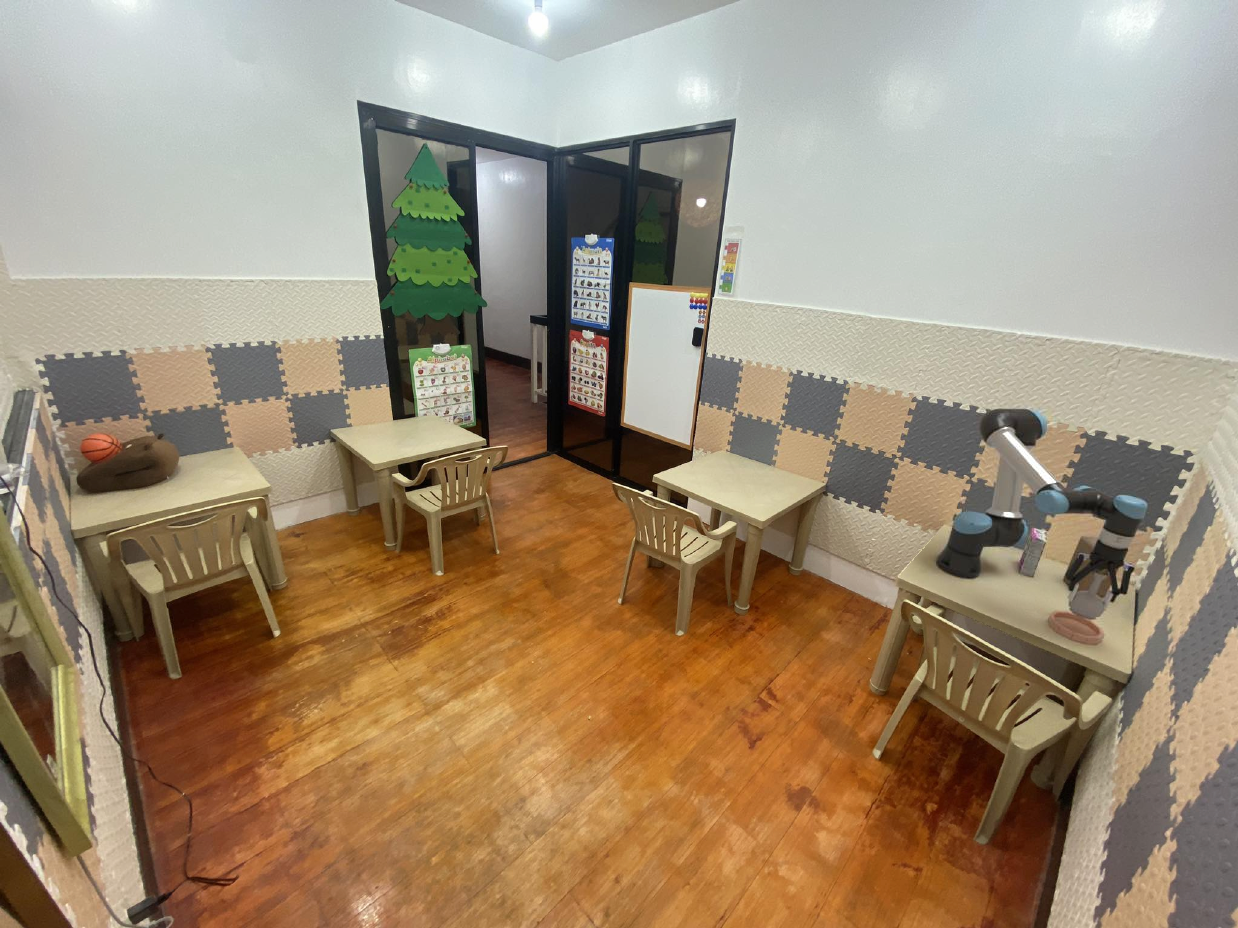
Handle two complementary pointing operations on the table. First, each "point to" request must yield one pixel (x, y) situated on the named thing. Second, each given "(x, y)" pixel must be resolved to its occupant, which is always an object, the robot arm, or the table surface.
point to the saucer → (1075, 627)
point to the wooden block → (1086, 547)
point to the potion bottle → (1089, 598)
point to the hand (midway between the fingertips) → (1086, 603)
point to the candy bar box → (1032, 552)
